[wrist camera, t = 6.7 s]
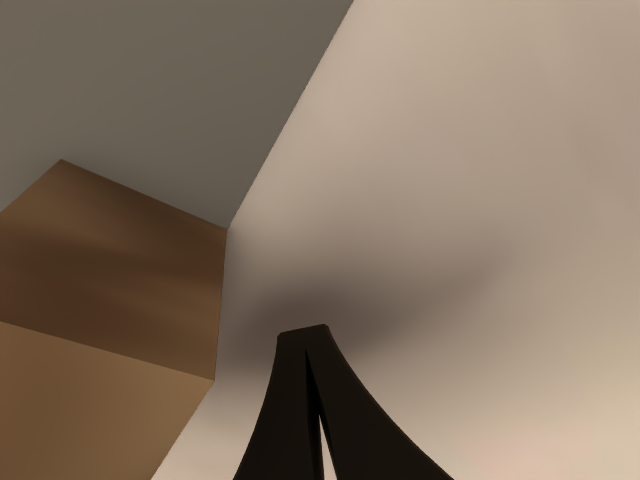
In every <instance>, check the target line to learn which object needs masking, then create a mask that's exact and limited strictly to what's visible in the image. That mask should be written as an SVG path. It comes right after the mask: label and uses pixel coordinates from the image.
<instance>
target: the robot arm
mask: <svg viewBox="0 0 640 480" xmlns="http://www.w3.org/2000/svg"><path fill="white" fill-rule="evenodd" d="M319 415H320V419H321V423H322V426H323V430H324V434H325V437H326V441H327V445H328V448H329V452H330V456H331V459H332V463H333V467H334V470H335V474H336V477H337V480H454V479H453V478H452V477H450V476H449V475H448V474H447V473H446V472H445V471H444V470H443V469H442V468H441V467H439V466H438V465H437V464H436V463H435V462H434V461H433V460H432V459H431V458H430V457H428V456H427V455H426V454H425V453H424V452H423V451H422V450H421V449H420V448H419V447H418V446H417V445H416V444H415V443H414V442H413V441H412V440H411V439H410V438H409V437H408V436H407V435H406V434H405V433H404V432H403V431H402V430H401V429H400V428H399V427H398V426H397V425H396V424H395V422H394V421H393V420H392V419H391V418H390V417H389V416H388V415H387V414H386V412H385V411H384V410H383V409H382V408H381V407H380V405H379V404H378V403H377V402H376V400H375V399H374V398H373V397H372V395H371V394H370V393H369V392H368V390H367V389H366V388H365V387H364V385H363V384H362V383H361V381H360V380H359V378H358V377H357V375H356V374H355V373H354V371H353V370H352V368H351V367H350V366H349V364H348V362H347V361H346V359H345V358H344V356H343V355H342V353H341V351H340V350H339V348H338V346H337V344H336V342H335V340H334V339H333V336H332V334H331V332H330V330H329V327H328V326H327V325H325V324H320V325H315V326H310V327H306V328H301V329H296V330H291V331H286V332H281V333H280V334H279V335H278V336H277V347H276V354H275V359H274V364H273V369H272V373H271V377H270V381H269V384H268V388H267V392H266V395H265V399H264V402H263V405H262V408H261V411H260V414H259V417H258V420H257V423H256V426H255V428H254V431H253V434H252V436H251V439H250V442H249V444H248V447H247V449H246V451H245V454H244V456H243V458H242V461H241V463H240V465H239V468H238V470H237V472H236V474H235V476H234V478H233V480H324V468H323V456H322V444H321V432H320V420H319Z"/></svg>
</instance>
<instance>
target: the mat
mask: <svg viewBox="0 0 640 480" xmlns="http://www.w3.org/2000/svg"><path fill="white" fill-rule="evenodd" d="M352 2H353V0H0V213H1V212H2V211H3V210H4V209H5V208H6V207H7V206H8V205H10V204H11V203H12V202H13V201H14V200H15V199H16V198H17V197H19V196H20V195H21V194H22V193H23V192H24V191H25V190H26V189H28V188H29V187H30V186H31V185H32V184H33V183H34V182H35V181H36V180H38V179H39V178H40V177H41V176H42V175H43V174H44V173H45V172H47V171H48V170H49V169H50V168H51V167H52V166H53V165H54V164H56V163H57V162H58V161H59V160H60V159H63V160H65V161H67V162H70V163H72V164H74V165H77V166H79V167H81V168H84V169H86V170H88V171H91V172H93V173H96V174H98V175H100V176H103V177H105V178H107V179H110V180H112V181H114V182H117V183H119V184H121V185H124V186H126V187H128V188H131V189H133V190H135V191H138V192H140V193H143V194H145V195H147V196H150V197H152V198H154V199H157V200H159V201H161V202H164V203H166V204H168V205H171V206H173V207H175V208H178V209H180V210H182V211H185V212H187V213H190V214H192V215H194V216H197V217H199V218H201V219H204V220H206V221H208V222H211V223H213V224H215V225H218V226H220V227H222V228H225V229H227V228H228V227H229V225H230V223H231V221H232V219H233V217H234V216H235V214H236V212H237V210H238V208H239V207H240V205H241V203H242V201H243V199H244V198H245V196H246V194H247V192H248V190H249V189H250V187H251V185H252V183H253V181H254V179H255V178H256V176H257V174H258V172H259V170H260V169H261V167H262V165H263V163H264V161H265V160H266V158H267V156H268V154H269V152H270V151H271V149H272V147H273V145H274V143H275V141H276V140H277V138H278V136H279V134H280V132H281V131H282V129H283V127H284V125H285V123H286V122H287V120H288V118H289V116H290V114H291V113H292V111H293V109H294V107H295V105H296V103H297V102H298V100H299V98H300V96H301V94H302V93H303V91H304V89H305V87H306V85H307V84H308V82H309V80H310V78H311V76H312V74H313V73H314V71H315V69H316V67H317V65H318V64H319V62H320V60H321V58H322V56H323V55H324V53H325V51H326V49H327V47H328V46H329V44H330V42H331V40H332V38H333V36H334V35H335V33H336V31H337V29H338V27H339V26H340V24H341V22H342V20H343V18H344V17H345V15H346V13H347V11H348V9H349V8H350V6H351V4H352Z"/></svg>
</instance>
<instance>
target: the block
mask: <svg viewBox="0 0 640 480" xmlns="http://www.w3.org/2000/svg"><path fill="white" fill-rule="evenodd" d="M226 234H227V229H225V228H222V227H220V226H218V225H215V224H213V223H211V222H208V221H206V220H204V219H201V218H199V217H197V216H194V215H192V214H190V213H187V212H185V211H182V210H180V209H178V208H175V207H173V206H171V205H168V204H166V203H164V202H161V201H159V200H157V199H154V198H152V197H150V196H147V195H145V194H143V193H140V192H138V191H135V190H133V189H131V188H128V187H126V186H124V185H121V184H119V183H117V182H114V181H112V180H110V179H107V178H105V177H103V176H100V175H98V174H96V173H93V172H91V171H88V170H86V169H84V168H81V167H79V166H77V165H74V164H72V163H70V162H67V161H65V160H63V159H60V160H59V161H58V162H57V163H56V164H54V165H53V166H52V167H51V168H50V169H49V170H48V171H47V172H45V173H44V174H43V175H42V176H41V177H40V178H39V179H38V180H36V181H35V182H34V183H33V184H32V185H31V186H30V187H29V188H28V189H26V190H25V191H24V192H23V193H22V194H21V195H20V196H19V197H17V198H16V199H15V200H14V201H13V202H12V203H11V204H10V205H8V206H7V207H6V208H5V209H4V210H3V211H2V212H1V213H0V480H151V478H152V477H153V475H154V474H155V472H156V471H157V469H158V468H159V466H160V464H161V463H162V461H163V460H164V458H165V457H166V455H167V454H168V452H169V451H170V449H171V447H172V446H173V444H174V443H175V441H176V440H177V438H178V437H179V435H180V434H181V432H182V430H183V429H184V427H185V426H186V424H187V423H188V421H189V420H190V418H191V416H192V415H193V413H194V412H195V410H196V409H197V407H198V406H199V404H200V403H201V401H202V399H203V398H204V396H205V395H206V393H207V392H208V390H209V389H210V387H211V386H212V384H213V382H214V380H215V368H216V356H217V344H218V332H219V319H220V307H221V295H222V283H223V271H224V259H225V247H226Z"/></svg>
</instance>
